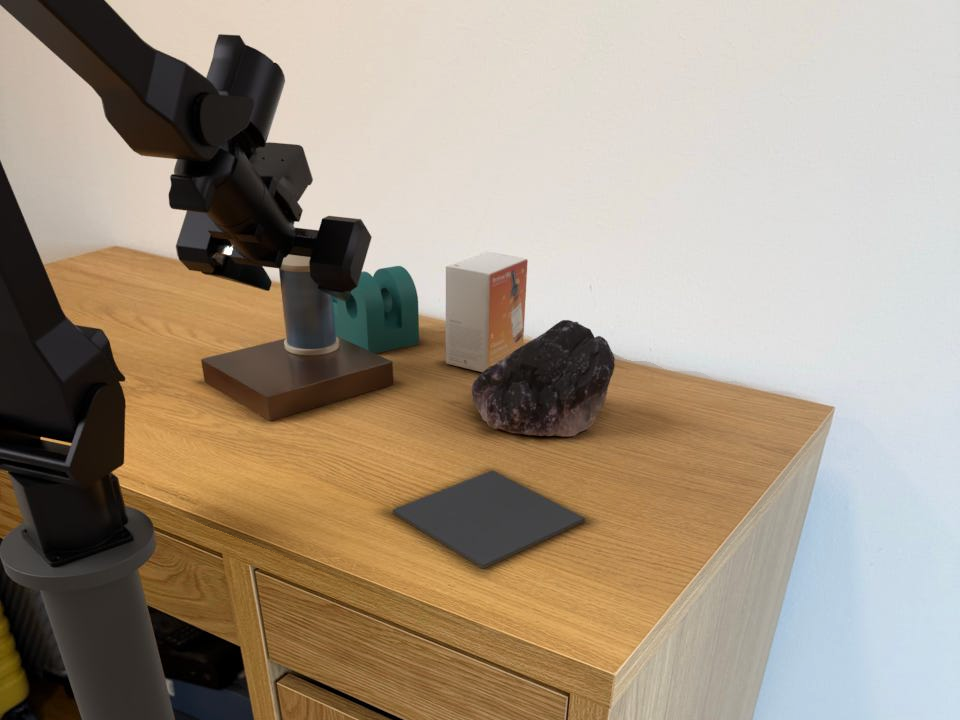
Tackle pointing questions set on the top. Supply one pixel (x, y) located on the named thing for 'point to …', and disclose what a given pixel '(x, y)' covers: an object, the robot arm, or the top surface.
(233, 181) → the robot arm
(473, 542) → the felt mat
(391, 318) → the bracket
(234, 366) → the platform
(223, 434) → the top surface
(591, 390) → the crystal cluster
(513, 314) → the small box
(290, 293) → the spool
